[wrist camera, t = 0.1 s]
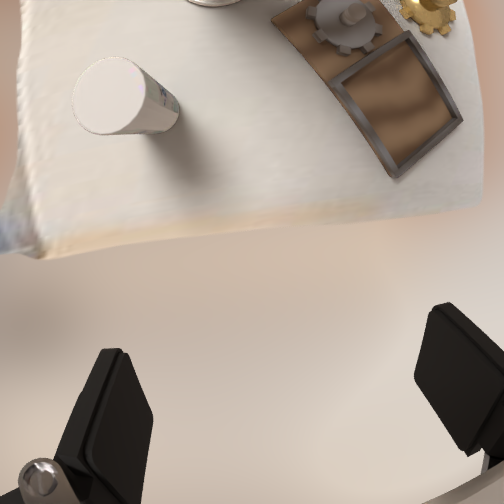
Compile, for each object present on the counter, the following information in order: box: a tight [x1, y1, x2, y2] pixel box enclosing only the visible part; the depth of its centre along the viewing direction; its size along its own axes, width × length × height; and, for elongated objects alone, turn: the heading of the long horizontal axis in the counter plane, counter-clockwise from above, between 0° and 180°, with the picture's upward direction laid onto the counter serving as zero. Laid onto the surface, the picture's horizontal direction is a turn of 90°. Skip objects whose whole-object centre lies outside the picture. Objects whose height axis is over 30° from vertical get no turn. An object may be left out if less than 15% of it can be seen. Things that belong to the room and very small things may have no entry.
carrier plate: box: [271, 0, 464, 178], centre depth 36 cm, size 29×17×6 cm, turn 40°
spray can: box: [72, 57, 179, 135], centre depth 30 cm, size 6×6×20 cm
